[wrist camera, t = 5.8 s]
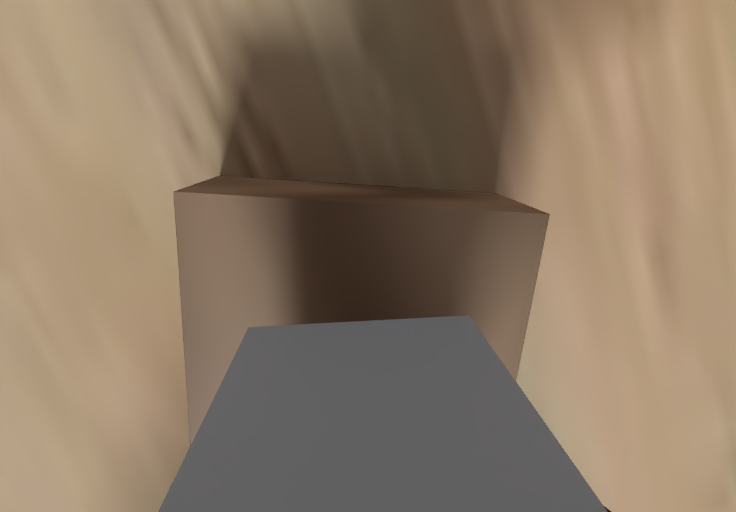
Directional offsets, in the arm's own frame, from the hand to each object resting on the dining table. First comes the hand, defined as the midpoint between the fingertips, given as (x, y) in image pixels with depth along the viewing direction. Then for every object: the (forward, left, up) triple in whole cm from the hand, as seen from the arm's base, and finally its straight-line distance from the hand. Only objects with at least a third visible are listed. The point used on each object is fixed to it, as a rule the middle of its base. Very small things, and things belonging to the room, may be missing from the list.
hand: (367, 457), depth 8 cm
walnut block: (0, 0, -7) cm, 7 cm away
